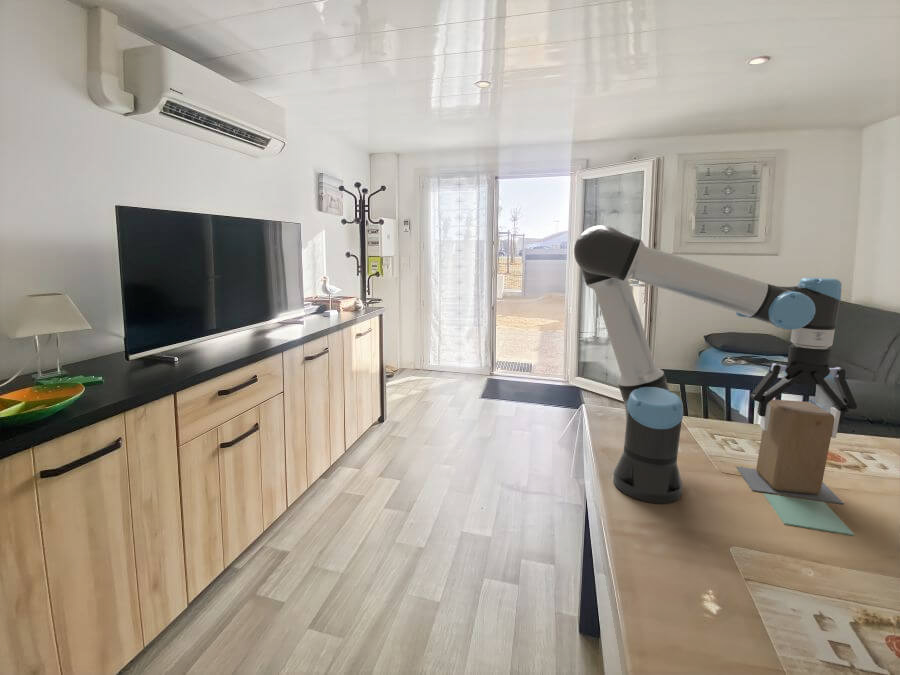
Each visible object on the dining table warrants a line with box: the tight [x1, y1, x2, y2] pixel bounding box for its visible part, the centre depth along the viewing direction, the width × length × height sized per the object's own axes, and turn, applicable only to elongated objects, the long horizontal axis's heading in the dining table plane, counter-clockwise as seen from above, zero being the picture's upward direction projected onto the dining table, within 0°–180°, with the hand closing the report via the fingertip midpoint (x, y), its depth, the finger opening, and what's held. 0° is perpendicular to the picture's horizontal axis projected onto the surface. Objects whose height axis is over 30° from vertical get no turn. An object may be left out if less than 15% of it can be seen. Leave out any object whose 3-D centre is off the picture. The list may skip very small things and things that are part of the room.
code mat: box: [736, 466, 845, 505], centre depth 108 cm, size 18×12×1 cm, turn 72°
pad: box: [762, 492, 855, 536], centre depth 96 cm, size 12×12×1 cm
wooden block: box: [755, 398, 834, 494], centre depth 106 cm, size 10×10×20 cm
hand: (796, 432), depth 105 cm, fingers open, 13 cm apart
